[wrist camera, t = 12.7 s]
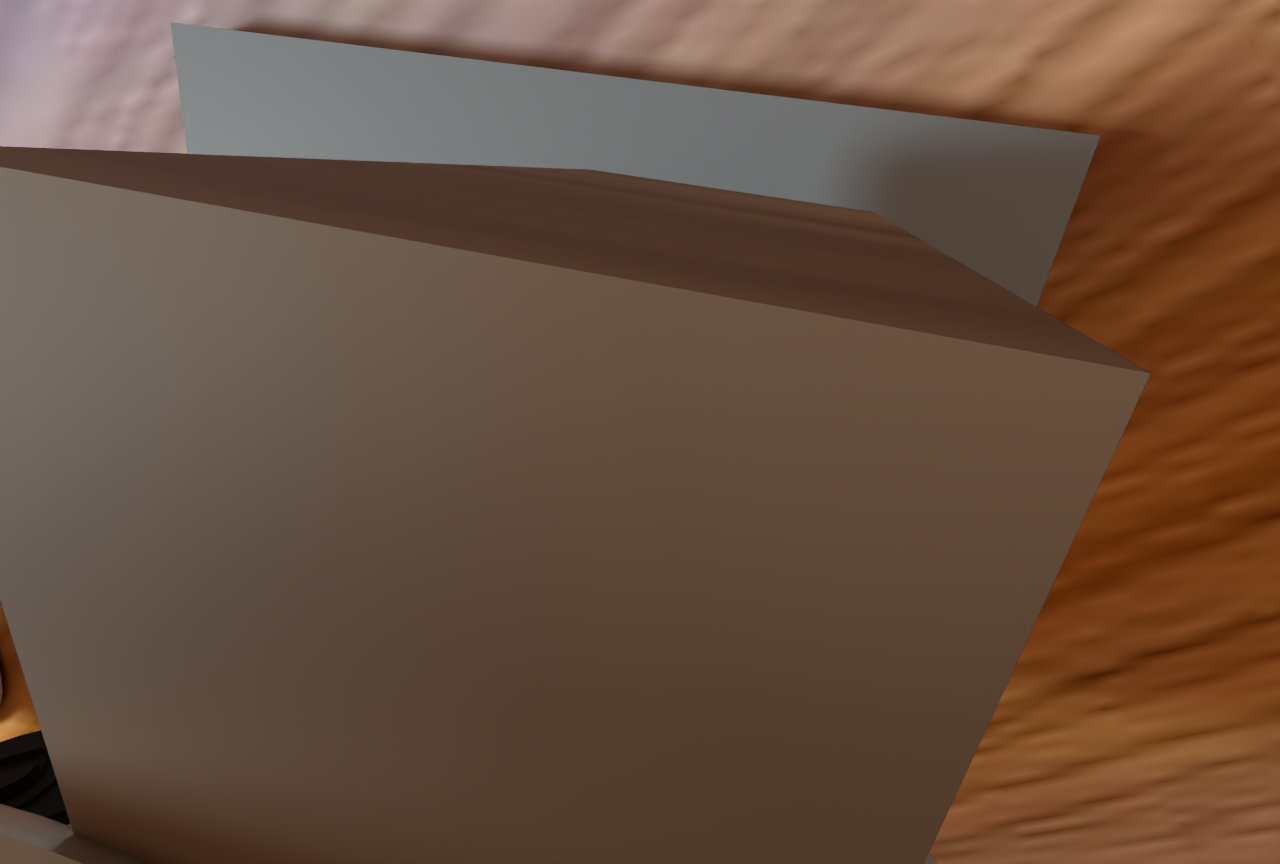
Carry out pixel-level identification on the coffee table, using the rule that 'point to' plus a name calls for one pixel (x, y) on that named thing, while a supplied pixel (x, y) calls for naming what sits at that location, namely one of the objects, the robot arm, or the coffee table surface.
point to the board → (641, 138)
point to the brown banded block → (516, 510)
